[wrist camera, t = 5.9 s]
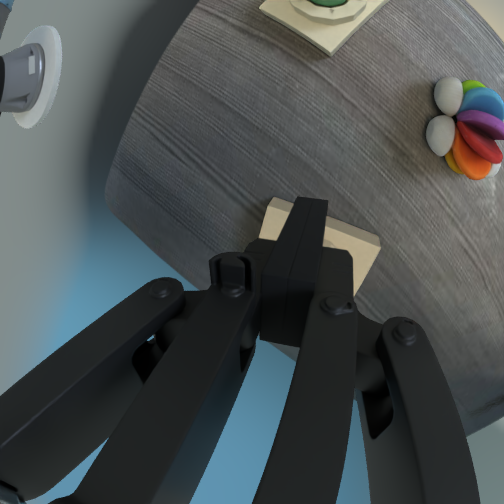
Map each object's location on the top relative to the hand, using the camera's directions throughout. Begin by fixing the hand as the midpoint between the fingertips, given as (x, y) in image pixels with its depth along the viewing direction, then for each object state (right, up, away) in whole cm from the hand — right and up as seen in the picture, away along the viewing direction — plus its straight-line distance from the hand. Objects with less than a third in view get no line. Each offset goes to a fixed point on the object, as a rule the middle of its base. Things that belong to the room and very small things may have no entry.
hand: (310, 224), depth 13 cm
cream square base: (+4, +22, +3) cm, 23 cm away
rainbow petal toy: (+18, +11, +5) cm, 22 cm away
